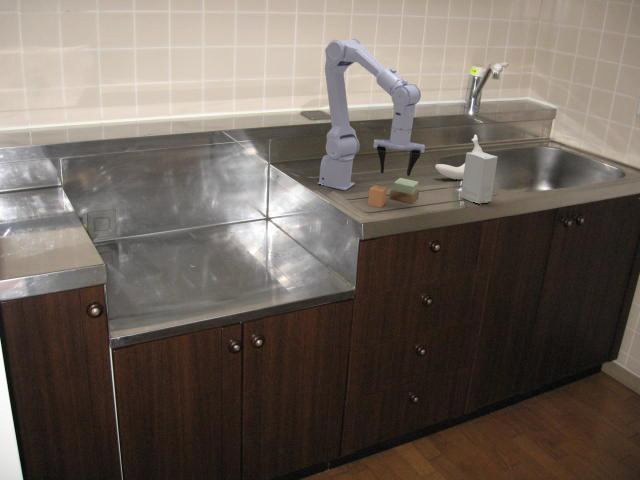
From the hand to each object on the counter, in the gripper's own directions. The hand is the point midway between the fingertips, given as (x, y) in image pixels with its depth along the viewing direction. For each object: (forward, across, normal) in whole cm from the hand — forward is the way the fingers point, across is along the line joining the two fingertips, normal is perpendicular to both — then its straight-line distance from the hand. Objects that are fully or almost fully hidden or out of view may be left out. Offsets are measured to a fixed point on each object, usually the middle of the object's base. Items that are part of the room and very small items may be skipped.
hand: (395, 173), depth 205 cm
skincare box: (+10, +27, +12) cm, 31 cm away
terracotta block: (+10, -4, -1) cm, 11 cm away
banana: (+10, +25, +33) cm, 43 cm away
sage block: (+7, +4, +7) cm, 11 cm away
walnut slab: (+10, +4, +7) cm, 13 cm away
